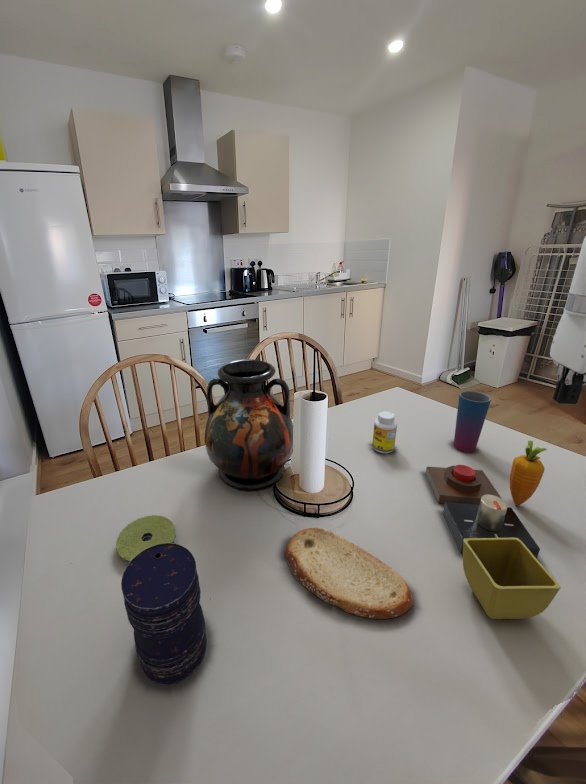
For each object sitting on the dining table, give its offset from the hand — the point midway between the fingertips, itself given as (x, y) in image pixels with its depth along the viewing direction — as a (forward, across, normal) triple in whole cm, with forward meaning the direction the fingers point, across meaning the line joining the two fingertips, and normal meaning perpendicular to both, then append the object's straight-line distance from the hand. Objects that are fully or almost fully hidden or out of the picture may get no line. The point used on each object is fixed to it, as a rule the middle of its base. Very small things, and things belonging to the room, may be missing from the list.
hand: (564, 401), depth 67 cm
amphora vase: (+23, +2, +62) cm, 66 cm away
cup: (+23, +19, +7) cm, 31 cm away
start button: (+19, +1, +14) cm, 24 cm away
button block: (+23, +1, +14) cm, 27 cm away
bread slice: (+23, -24, +41) cm, 53 cm away
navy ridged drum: (+23, -40, +66) cm, 81 cm away
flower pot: (+23, -26, +18) cm, 39 cm away
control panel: (+23, -12, +14) cm, 29 cm away
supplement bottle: (+23, +16, +28) cm, 40 cm away
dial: (+20, -12, +14) cm, 27 cm away
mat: (+23, -23, +78) cm, 85 cm away
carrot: (+23, -2, +4) cm, 24 cm away
